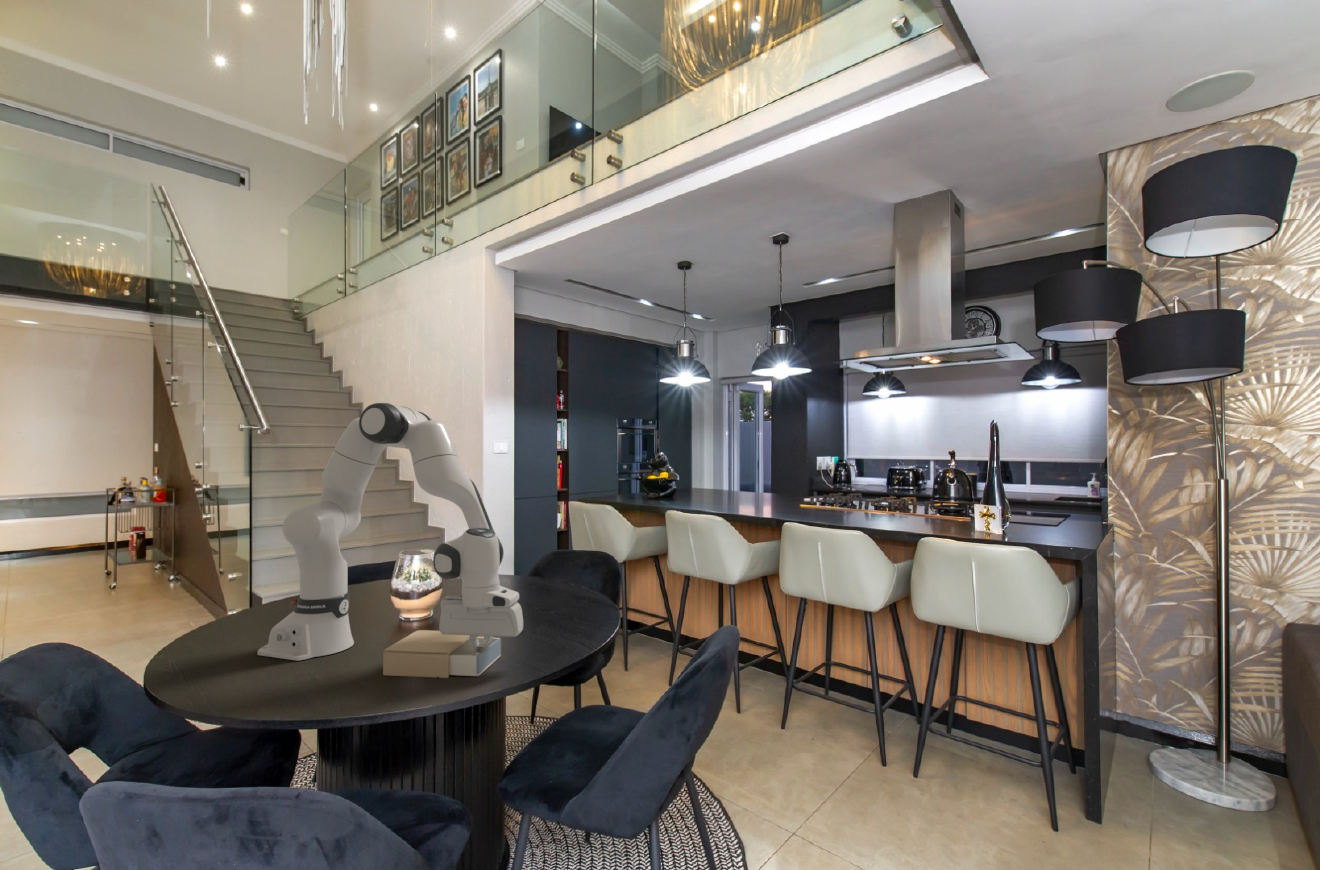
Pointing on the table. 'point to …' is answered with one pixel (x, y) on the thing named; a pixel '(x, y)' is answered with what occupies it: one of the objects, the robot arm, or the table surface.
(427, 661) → the mailer sleeve
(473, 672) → the tray
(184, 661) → the table surface
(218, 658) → the table surface
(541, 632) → the table surface
